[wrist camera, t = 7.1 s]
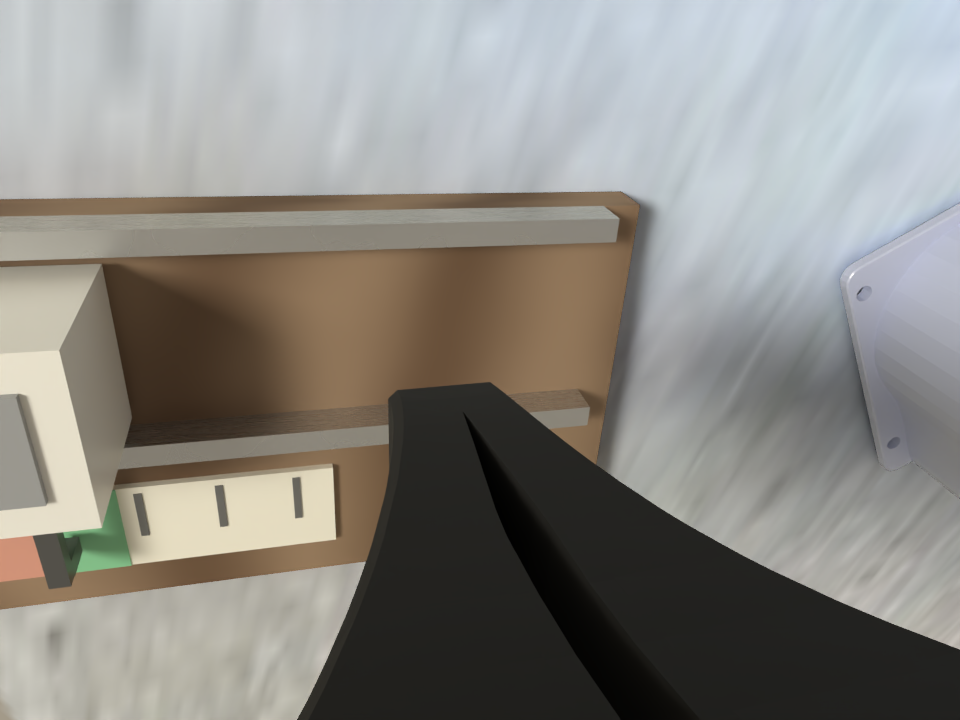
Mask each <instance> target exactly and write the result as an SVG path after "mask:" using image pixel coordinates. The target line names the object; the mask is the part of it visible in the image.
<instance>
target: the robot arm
mask: <svg viewBox="0 0 960 720" xmlns="http://www.w3.org/2000/svg"><path fill="white" fill-rule="evenodd" d="M840 287H841V291H842V296H843V300H844V305H845V310H846V314H847V319H848V323H849V328H850V333H851V337H852V342H853V346H854V351H855V355H856V360H857V365H858V369H859V374H860V378H861V383H862V387H863V392H864V397H865V401H866V406H867V410H868V415H869V419H870V424H871V429H872V433H873V438H874V442H875V447H876V452H877V456H878V461H879V463H880V465H881V466H882V467H884V468H885V469H886V470H888V471H895V470H897V469H899V468H901V467H903V466H905V465H907V464H908V463H910V462H912V461H913V462H915V463H916V464H917V465H918V466H920V467H921V468H922V469H923V470H924V471H926V472H927V473H928V474H929V475H931V476H932V477H933V478H934V479H936V480H937V481H938V482H939V483H940V484H942V485H943V486H944V487H945V488H947V489H948V490H949V491H950V492H952V493H953V494H954V495H955V496H956V497H958V498H959V499H960V203H959V204H957V205H955V206H954V207H952V208H950V209H948V210H947V211H945V212H943V213H941V214H939V215H938V216H936V217H934V218H932V219H931V220H929V221H927V222H925V223H923V224H922V225H920V226H918V227H916V228H915V229H913V230H911V231H909V232H908V233H906V234H904V235H902V236H900V237H899V238H897V239H895V240H893V241H892V242H890V243H888V244H886V245H884V246H883V247H881V248H879V249H877V250H876V251H874V252H872V253H870V254H869V255H867V256H865V257H863V258H861V259H860V260H858V261H856V262H854V263H853V264H851V265H850V266H848V267H847V268H846V269H845V270H844V272H843V273H842V276H841V278H840ZM862 287H863V289H862V291H861V292H860V293H859V294H858V295H857V293H858V291H859V290H860V289H861V288H862ZM388 426H389V475H388V481H387V487H386V492H385V496H384V500H383V504H382V508H381V512H380V515H379V519H378V523H377V527H376V530H375V534H374V538H373V542H372V545H371V548H370V551H369V554H368V557H367V560H366V563H365V566H364V569H363V572H362V575H361V578H360V581H359V583H358V586H357V589H356V591H355V594H354V597H353V599H352V602H351V605H350V607H349V610H348V612H347V615H346V617H345V619H344V622H343V624H342V626H341V629H340V631H339V633H338V636H337V638H336V640H335V642H334V645H333V647H332V649H331V652H330V654H329V656H328V659H327V661H326V663H325V665H324V667H323V670H322V672H321V674H320V676H319V678H318V680H317V682H316V684H315V686H314V688H313V690H312V693H311V695H310V697H309V699H308V701H307V702H306V704H305V706H304V708H303V710H302V712H301V714H300V715H299V717H298V719H297V720H960V650H959V649H957V648H954V647H951V646H949V645H946V644H944V643H941V642H938V641H936V640H933V639H930V638H928V637H925V636H923V635H920V634H917V633H915V632H912V631H910V630H907V629H904V628H902V627H899V626H897V625H894V624H891V623H889V622H886V621H884V620H882V619H879V618H877V617H874V616H872V615H870V614H867V613H865V612H862V611H860V610H858V609H855V608H853V607H850V606H848V605H846V604H843V603H841V602H839V601H836V600H834V599H832V598H830V597H828V596H826V595H823V594H821V593H819V592H817V591H815V590H813V589H811V588H808V587H806V586H804V585H802V584H800V583H798V582H796V581H793V580H791V579H789V578H787V577H785V576H783V575H780V574H778V573H776V572H774V571H772V570H770V569H768V568H766V567H764V566H762V565H760V564H758V563H756V562H754V561H752V560H750V559H748V558H746V557H744V556H742V555H741V554H739V553H737V552H735V551H733V550H731V549H730V548H728V547H726V546H724V545H722V544H721V543H719V542H717V541H715V540H713V539H712V538H710V537H708V536H706V535H705V534H703V533H701V532H699V531H697V530H696V529H694V528H692V527H690V526H688V525H687V524H685V523H683V522H682V521H680V520H678V519H677V518H675V517H673V516H672V515H670V514H668V513H667V512H665V511H664V510H662V509H660V508H659V507H657V506H656V505H654V504H653V503H651V502H650V501H648V500H647V499H645V498H644V497H642V496H641V495H639V494H638V493H636V492H635V491H633V490H632V489H630V488H629V487H627V486H626V485H624V484H623V483H621V482H620V481H618V480H617V479H615V478H614V477H612V476H611V475H610V474H608V473H607V472H605V471H604V470H603V469H601V468H600V467H598V466H597V465H596V464H594V463H593V462H592V461H590V460H589V459H587V458H586V457H585V456H583V455H582V454H581V453H579V452H578V451H577V450H575V449H574V448H573V447H572V446H570V445H569V444H568V443H566V442H565V441H564V440H562V439H561V438H560V437H559V436H557V435H556V434H555V433H553V432H552V431H551V430H550V429H548V428H547V427H546V426H545V425H543V424H542V423H541V422H540V421H538V420H537V419H536V418H535V417H533V416H532V415H531V414H530V413H529V412H527V411H526V410H525V409H524V408H522V407H521V406H520V405H519V404H517V403H516V402H515V401H514V400H513V399H511V398H510V397H509V396H508V395H506V394H505V393H504V392H503V391H501V390H500V389H499V388H497V387H496V386H495V385H493V384H492V383H491V382H484V383H472V384H461V385H449V386H438V387H426V388H415V389H403V390H397V391H396V392H394V393H393V394H392V395H391V396H390V397H389V398H388Z"/></svg>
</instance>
